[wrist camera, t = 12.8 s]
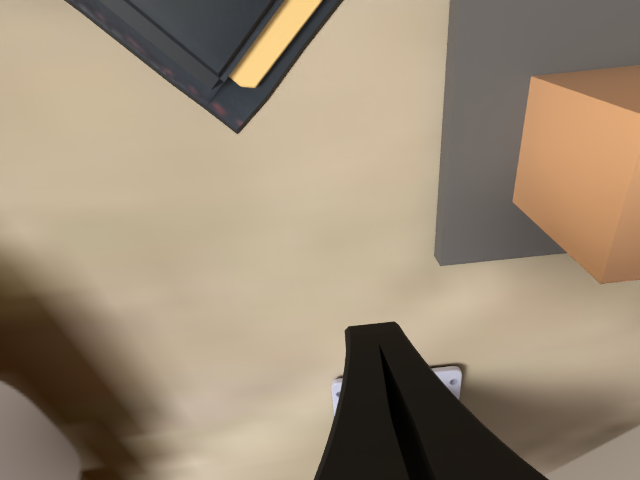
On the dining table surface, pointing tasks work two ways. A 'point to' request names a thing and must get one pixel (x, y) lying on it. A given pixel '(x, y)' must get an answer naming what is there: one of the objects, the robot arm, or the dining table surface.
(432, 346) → the dining table surface
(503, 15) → the post board
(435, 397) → the robot arm
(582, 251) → the peach tan brick
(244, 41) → the dark grey book
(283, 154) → the dining table surface
